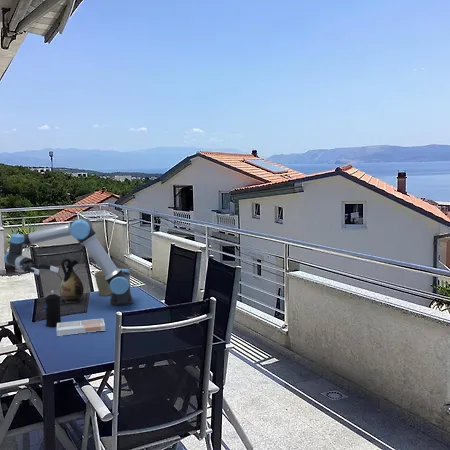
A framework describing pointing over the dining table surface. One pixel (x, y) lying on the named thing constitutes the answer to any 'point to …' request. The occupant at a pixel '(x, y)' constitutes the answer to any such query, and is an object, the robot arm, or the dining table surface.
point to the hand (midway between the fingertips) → (48, 271)
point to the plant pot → (102, 284)
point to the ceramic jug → (70, 283)
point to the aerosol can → (52, 310)
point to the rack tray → (80, 327)
